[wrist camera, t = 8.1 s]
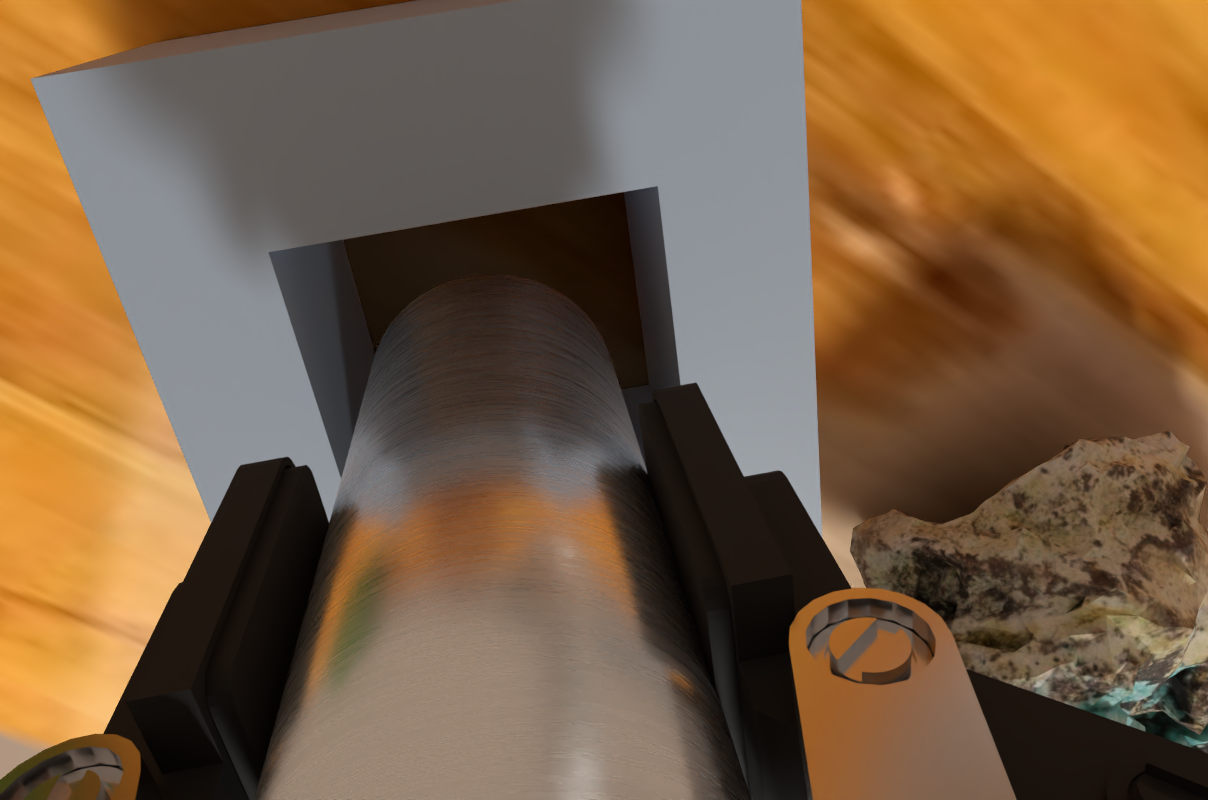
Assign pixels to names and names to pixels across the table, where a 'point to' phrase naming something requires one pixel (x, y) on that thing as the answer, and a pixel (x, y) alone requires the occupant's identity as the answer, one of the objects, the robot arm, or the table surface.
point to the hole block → (448, 201)
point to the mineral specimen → (1073, 582)
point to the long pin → (497, 581)
